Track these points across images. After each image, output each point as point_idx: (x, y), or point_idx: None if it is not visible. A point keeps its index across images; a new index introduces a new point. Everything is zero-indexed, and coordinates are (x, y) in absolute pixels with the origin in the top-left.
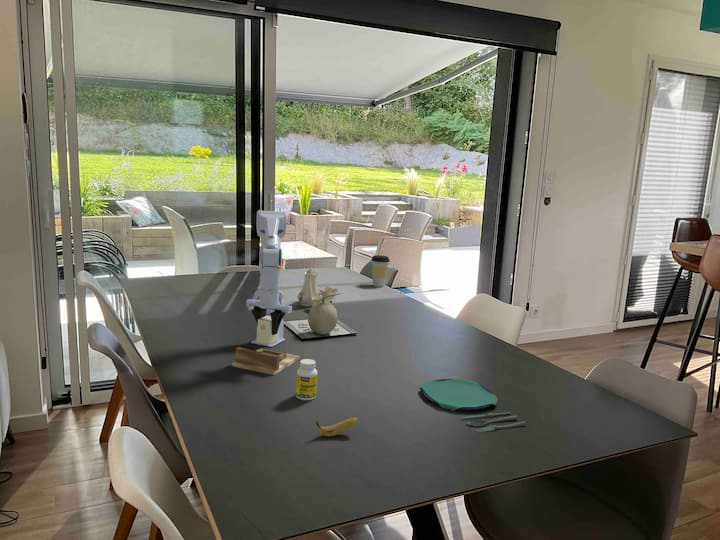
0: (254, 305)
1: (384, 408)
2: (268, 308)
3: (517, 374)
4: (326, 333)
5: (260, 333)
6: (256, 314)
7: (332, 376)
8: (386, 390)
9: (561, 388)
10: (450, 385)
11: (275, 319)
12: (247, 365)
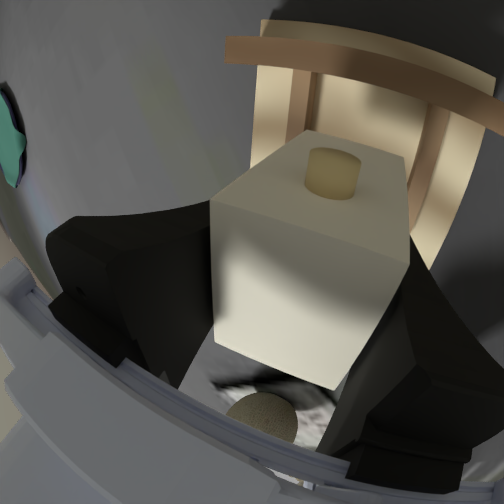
0: (446, 501)
1: (28, 34)
2: (217, 429)
3: (23, 237)
4: (258, 392)
5: (376, 171)
6: (439, 344)
7: (116, 116)
8: (41, 105)
9: (2, 209)
10: (14, 164)
11: (131, 217)
12: (416, 52)
